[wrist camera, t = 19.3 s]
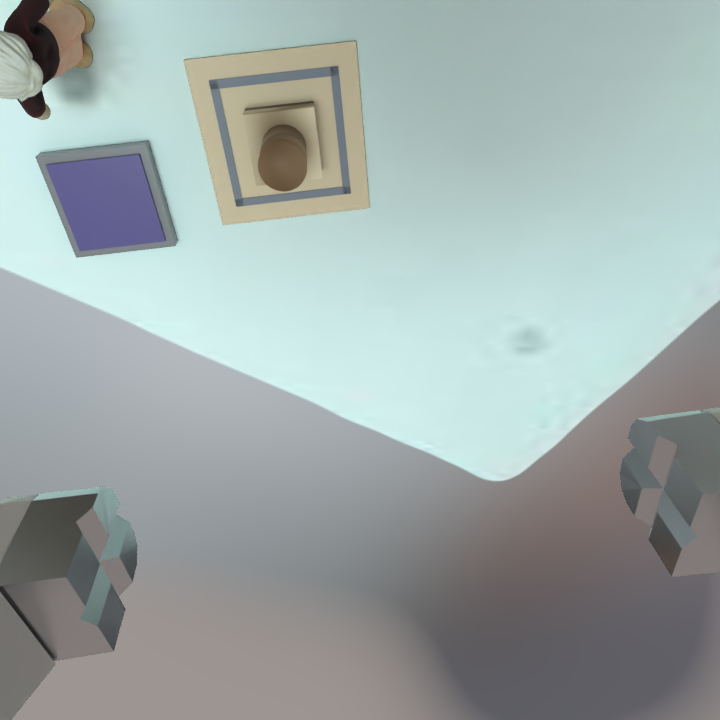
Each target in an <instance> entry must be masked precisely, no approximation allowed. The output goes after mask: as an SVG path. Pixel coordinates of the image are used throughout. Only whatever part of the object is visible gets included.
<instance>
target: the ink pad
mask: <svg viewBox="0 0 720 720" xmlns="http://www.w3.org/2000/svg"><path fill="white" fill-rule="evenodd" d="M36 159H37V162H38V164H39V167H40V169H41V172H42V174H43V177H44V179H45V182H46V184H47V186H48V189H49V191H50V194H51V196H52V199H53V201H54V204H55V206H56V209H57V211H58V213H59V216H60V218H61V221H62V223H63V226H64V228H65V231H66V233H67V236H68V238H69V241H70V243H71V245H72V248H73V250H74V253H75V255H76V258H77V257H86V256H94V255H103V254H111V253H120V252H128V251H137V250H145V249H153V248H162V247H170V246H176V244H177V237H176V234H175V230H174V227H173V223H172V220H171V217H170V213H169V210H168V206H167V203H166V199H165V196H164V192H163V189H162V186H161V182H160V179H159V175H158V172H157V168H156V165H155V161H154V158H153V155H152V151H151V148H150V144H149V141H141V142H132V143H123V144H115V145H106V146H97V147H88V148H79V149H71V150H62V151H53V152H44V153H40V154H38V155H37V156H36Z"/></svg>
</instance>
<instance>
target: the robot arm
mask: <svg viewBox="0 0 720 720" xmlns="http://www.w3.org/2000/svg"><path fill="white" fill-rule="evenodd" d="M628 439H629V440H630V442H631V443H632V445H633V446H634V448H633V449H632V450H631V451H630V452H629V453H628V454H627V455H626V456H625V457H624V458H623V459H622V464H621V470H620V480H621V487H622V492H623V495H624V497H625V500H626V503H627V505H628V506H629V508H630V510H631V511H632V513H633V515H634V516H635V517H637V518H638V519H640V520H641V521H643V522H644V523H646V524H648V525H649V526H651V531H650V536H649V541H650V543H651V544H652V546H653V548H654V549H655V551H656V552H657V554H658V556H659V557H660V559H661V561H662V562H663V564H664V565H665V567H666V569H667V570H668V572H669V573H670V575H671V577H675V576H685V575H694V574H704V573H713V572H720V407H719V408H712V409H705V410H700V411H691V412H684V413H677V414H670V415H662V416H654V417H647V418H640V419H636V420H635V422H634V423H633V424H632V425H631V428H630V431H629V435H628ZM119 504H120V502H119V500H118V498H117V496H116V494H115V493H114V491H113V489H112V488H108V487H99V488H89V489H80V490H70V491H60V492H50V493H41V494H38V495H28V496H18V497H8V498H6V499H5V500H3V501H2V502H1V503H0V720H12V718H13V717H14V716H15V715H16V713H17V712H18V711H19V710H20V708H21V707H22V706H23V705H24V703H25V702H26V701H27V700H28V698H29V697H30V696H31V695H32V693H33V692H34V691H35V690H36V688H37V687H38V686H39V684H40V683H41V682H42V681H43V680H44V678H45V677H46V676H47V674H48V673H49V672H50V671H51V669H52V668H53V667H54V666H55V662H54V661H57V660H64V659H69V658H75V657H82V656H88V655H95V654H101V653H106V652H112V651H114V649H115V645H116V641H117V637H118V634H119V630H120V627H121V623H122V620H123V616H124V612H125V607H124V605H123V604H122V602H121V600H120V598H119V596H120V595H121V594H122V593H123V592H124V591H125V590H126V588H127V587H128V586H129V585H130V584H131V583H132V582H133V578H134V574H135V570H136V566H137V542H136V538H135V533H134V531H133V529H132V526H131V524H130V522H129V521H127V520H125V519H123V518H122V517H120V516H118V515H117V511H118V508H119Z"/></svg>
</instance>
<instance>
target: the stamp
mask: <svg viewBox="0 0 720 720" xmlns="http://www.w3.org/2000/svg"><path fill="white" fill-rule="evenodd" d="M243 120H244V125H245V130H246V135H247V141H248V146H249V151H250V156H251V161H252V167H253V172H254V177H255V182H256V186H262V185H267V186H268V187H270V188H272V189H274V190H276V191H282V192H286V191H291V190H294V189H296V188H297V187H298V186H300V185H301V184H302V182H303V181H306V180H314V179H323V175H322V167H321V158H320V150H319V142H318V134H317V126H316V118H315V110H314V102H313V101H308V102H299V103H290V104H281V105H272V106H263V107H254V108H245V110H244V113H243Z"/></svg>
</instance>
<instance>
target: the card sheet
mask: <svg viewBox="0 0 720 720" xmlns="http://www.w3.org/2000/svg"><path fill="white" fill-rule="evenodd" d="M184 64H185V68H186V72H187V76H188V81H189V85H190V89H191V93H192V97H193V102H194V106H195V110H196V114H197V118H198V123H199V127H200V131H201V135H202V140H203V144H204V148H205V152H206V156H207V161H208V165H209V169H210V173H211V177H212V182H213V186H214V190H215V194H216V198H217V203H218V207H219V211H220V215H221V219H222V224H223V225H229V224H237V223H246V222H254V221H263V220H271V219H280V218H288V217H297V216H305V215H314V214H322V213H331V212H340V211H348V210H357V209H365V208H369V195H368V183H367V171H366V158H365V146H364V133H363V121H362V109H361V96H360V84H359V72H358V59H357V47H356V41H348V42H339V43H330V44H321V45H312V46H303V47H294V48H285V49H276V50H267V51H258V52H249V53H240V54H231V55H222V56H213V57H204V58H195V59H186V60H184ZM308 101H313V102H314V110H315V118H316V126H317V134H318V142H319V150H320V158H321V167H322V175H323V179H314V180H306V181H303V182H302V184H301V185H300V186H298V187H297V188H296V189H294V190H291V191H286V192H282V191H276V190H274V189H272V188H270V187H268V186H267V185H262V186H256V182H255V177H254V172H253V167H252V161H251V156H250V151H249V146H248V141H247V135H246V130H245V125H244V120H243V113H244V110H245V108H254V107H263V106H272V105H281V104H290V103H299V102H308Z"/></svg>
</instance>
